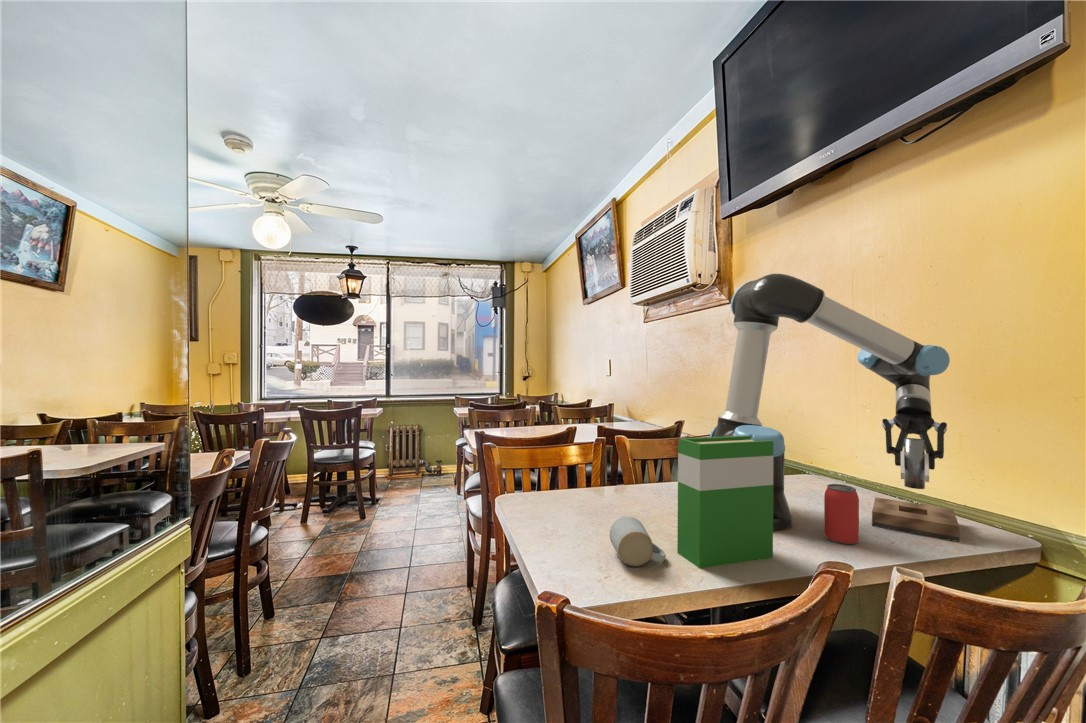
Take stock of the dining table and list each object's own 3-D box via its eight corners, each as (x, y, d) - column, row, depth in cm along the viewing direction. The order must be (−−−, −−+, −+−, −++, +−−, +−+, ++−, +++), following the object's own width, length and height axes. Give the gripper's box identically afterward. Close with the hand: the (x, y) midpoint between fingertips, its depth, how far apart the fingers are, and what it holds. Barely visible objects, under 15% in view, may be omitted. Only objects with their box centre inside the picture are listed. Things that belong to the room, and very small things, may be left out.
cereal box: (746, 544, 100) (747, 435, 100) (772, 557, 93) (773, 441, 93) (677, 553, 95) (678, 438, 95) (699, 568, 88) (700, 444, 88)
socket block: (872, 525, 113) (872, 511, 113) (875, 510, 125) (875, 497, 125) (959, 541, 103) (959, 526, 103) (953, 522, 115) (953, 509, 115)
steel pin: (904, 487, 114) (903, 439, 114) (904, 484, 117) (904, 437, 117) (925, 490, 111) (924, 441, 111) (924, 486, 114) (924, 439, 114)
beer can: (864, 546, 99) (864, 491, 99) (831, 544, 101) (831, 489, 101) (850, 535, 106) (850, 484, 106) (819, 533, 107) (819, 482, 107)
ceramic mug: (617, 569, 87) (619, 529, 87) (608, 551, 95) (609, 515, 95) (671, 569, 88) (672, 529, 88) (657, 551, 96) (658, 515, 96)
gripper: (954, 416, 121) (960, 491, 108) (875, 412, 131) (872, 480, 118) (955, 397, 117) (962, 473, 104) (874, 394, 127) (871, 463, 114)
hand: (914, 477), depth 111 cm, fingers closed on steel pin, 4 cm apart
